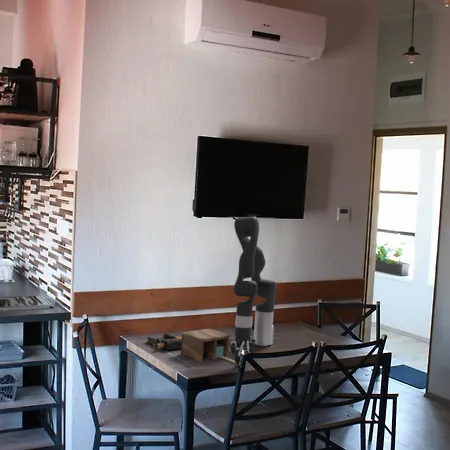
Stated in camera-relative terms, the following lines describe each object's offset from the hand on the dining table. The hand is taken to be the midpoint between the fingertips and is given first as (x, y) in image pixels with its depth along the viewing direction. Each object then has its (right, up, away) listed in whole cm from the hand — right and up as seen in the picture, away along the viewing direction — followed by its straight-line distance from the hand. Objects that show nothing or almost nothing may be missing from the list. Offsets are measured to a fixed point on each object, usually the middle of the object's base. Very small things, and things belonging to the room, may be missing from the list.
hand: (241, 362), depth 279 cm
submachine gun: (-33, +2, +32) cm, 46 cm away
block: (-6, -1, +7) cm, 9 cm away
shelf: (-17, 0, +14) cm, 22 cm away
